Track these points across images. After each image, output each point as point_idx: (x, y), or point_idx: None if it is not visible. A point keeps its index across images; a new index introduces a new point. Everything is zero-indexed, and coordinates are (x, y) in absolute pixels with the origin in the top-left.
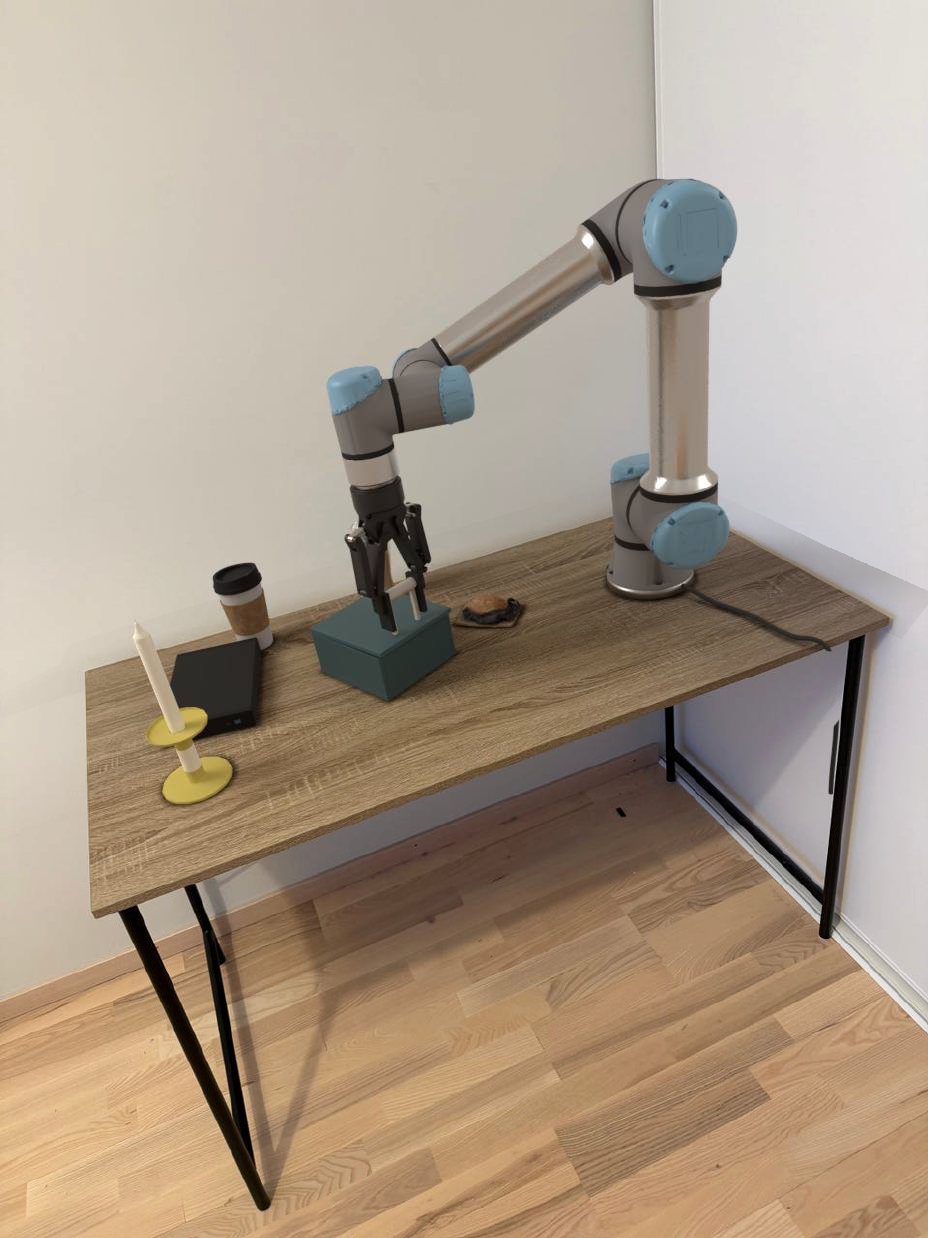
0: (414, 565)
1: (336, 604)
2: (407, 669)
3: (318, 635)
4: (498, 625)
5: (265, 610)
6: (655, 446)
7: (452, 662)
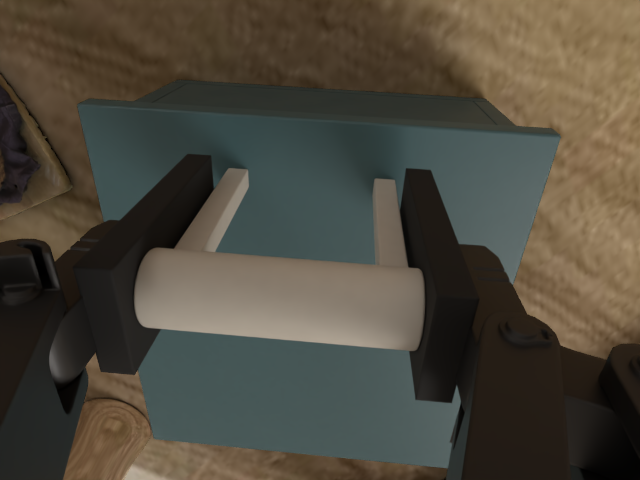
0: (49, 346)
1: (201, 476)
2: (388, 106)
3: None
4: None
5: None
6: None
7: (217, 56)
